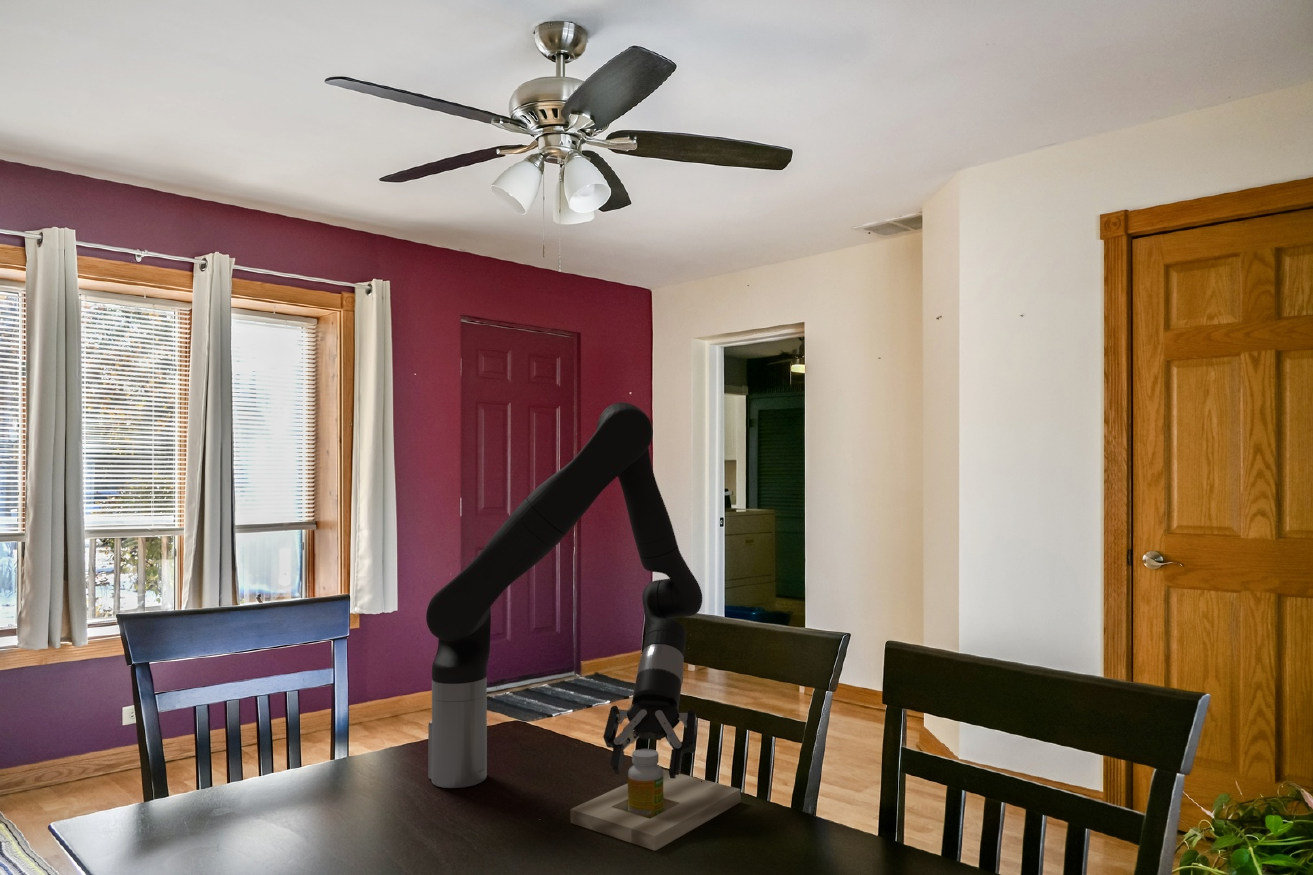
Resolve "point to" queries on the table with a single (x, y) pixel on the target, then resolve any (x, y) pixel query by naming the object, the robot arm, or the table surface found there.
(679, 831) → the socket board
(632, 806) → the supplement bottle
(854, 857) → the table surface
